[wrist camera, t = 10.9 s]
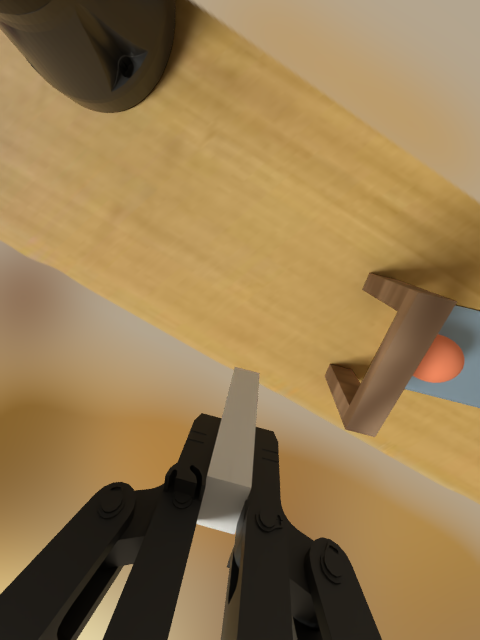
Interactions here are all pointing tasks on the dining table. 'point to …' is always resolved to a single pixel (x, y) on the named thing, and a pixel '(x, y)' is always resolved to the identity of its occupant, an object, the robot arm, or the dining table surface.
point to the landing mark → (476, 376)
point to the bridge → (389, 354)
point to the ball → (441, 361)
